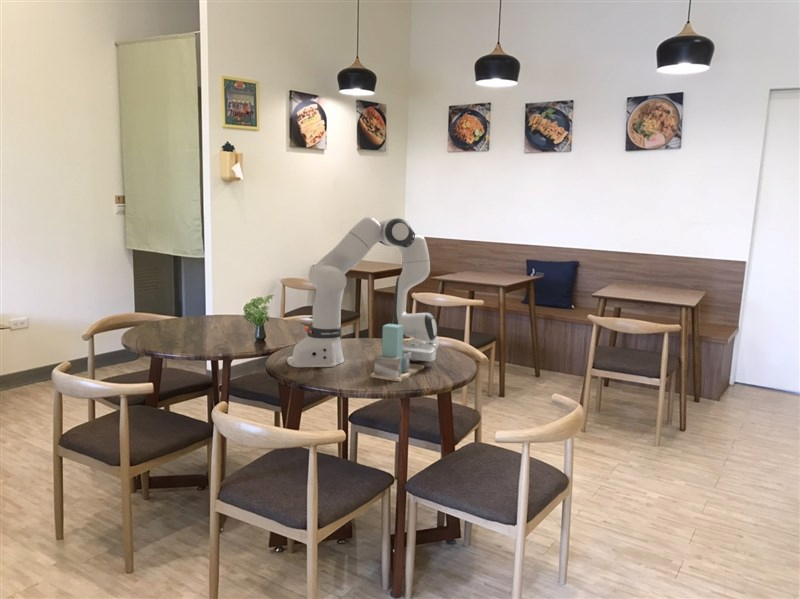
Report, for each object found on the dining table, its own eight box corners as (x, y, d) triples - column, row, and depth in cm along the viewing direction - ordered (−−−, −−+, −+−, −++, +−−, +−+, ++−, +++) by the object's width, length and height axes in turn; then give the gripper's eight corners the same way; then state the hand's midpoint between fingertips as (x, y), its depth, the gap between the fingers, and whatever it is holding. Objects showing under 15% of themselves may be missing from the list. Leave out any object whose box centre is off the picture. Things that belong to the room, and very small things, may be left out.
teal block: (387, 370, 241) (388, 323, 238) (402, 372, 239) (403, 325, 236) (381, 373, 237) (382, 325, 234) (396, 375, 234) (397, 327, 232)
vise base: (396, 363, 255) (397, 344, 254) (424, 367, 250) (424, 347, 249) (370, 376, 236) (371, 355, 234) (400, 381, 231) (400, 360, 229)
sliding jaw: (387, 367, 245) (388, 354, 244) (409, 370, 241) (409, 357, 240) (384, 369, 242) (384, 355, 241) (405, 372, 238) (406, 358, 237)
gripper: (393, 338, 260) (377, 345, 248) (439, 344, 252) (425, 351, 239) (392, 353, 261) (377, 361, 249) (439, 360, 253) (425, 368, 240)
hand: (401, 356), depth 244 cm, fingers closed
